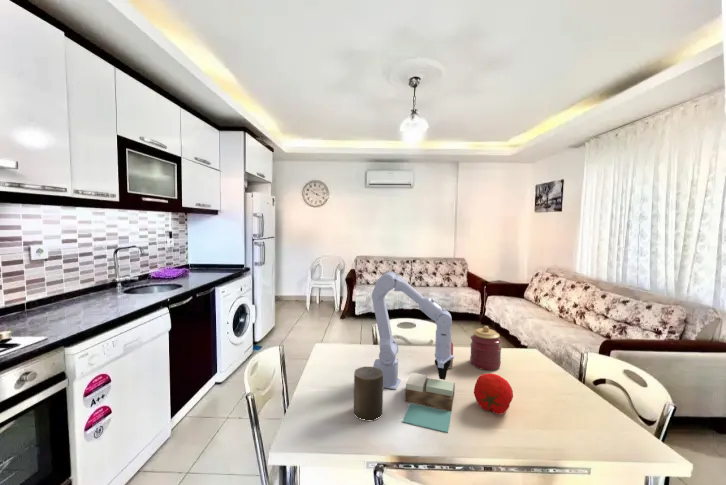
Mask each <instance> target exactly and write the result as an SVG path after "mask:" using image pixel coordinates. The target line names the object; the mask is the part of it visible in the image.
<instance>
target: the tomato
mask: <svg viewBox="0 0 726 485" xmlns="http://www.w3.org/2000/svg"><path fill="white" fill-rule="evenodd" d="M473 395H474V397H475V402H476V403H477V404H478V405H479V407H481V409H482V410H484V411H485V412H493V413H495V414H497V415H502V414H505V413H506V412H507V411H508V410H509V408H510V404H511V403H512V401H513V398H514V393H513V388H512V386H511V384H510V383H509V382H508V381H507V380H506V379H505V378H504V377H502V376H500V375H499V374H496V373H492V372H491V373H490V372H489V373H482V374H481V375H479V376H478V377H477V379H476V382H475V384H474V389H473Z"/></svg>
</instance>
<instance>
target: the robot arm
mask: <svg viewBox="0 0 726 485" xmlns="http://www.w3.org/2000/svg"><path fill="white" fill-rule="evenodd" d="M392 290H393V292H401V293H403V294H405V295H406V296H408V298H410V299H411V300H412V301H414V302H415V303H417V305H418V306H419V307H418V308H419V310H420V311H421V312H422V313H424V314H425V315H426V316H427V317H428V318H430V319H431V321H434V322H435V325H436V329H435V344H434V345H435V347H434V348H435V351H434V358H435V359H434V365H435V367H436V369H437V374H438V378H439V379H438V380H441V381H446V377H447V374H448V367H449V366H450V362H451V359H453V360H454V359H455V355H454V354H453V355H451V340H452V326H453V320H452V319H453V318H452V315H451V313H450V312H449V311H448V310H447V309H445V308H444V307H441V306H440V305H439V304H437V303H436V300H435V299H434V297H432V298H430V297H424V296H423V295H422V294H420V292H419V291H417V290H416V289H415V288H414V287H413V286H412V285H411V284H410V283H408V282H407V280H405V279H404V278H402V276H400V275H397V273H396V272H395V271H392V270H391V271H390V270H389V271H386V272H385V273H384V274H382V275H381V276H380V277H379V278H378V279H377V280H376V282H375V284H374V287H373V291H372V292H371V300H372V304H373V311H374V315H375V319H376V320H375V321H376V327H377V330H378V336H379V354H378V358H376V359H375V360H374V362H373V366H372V367H376V368H378V369H380V370H382V372H383V388H386V389H392V390H397V388H398V386H399V384H400V382H401V378H398V377H399V376H398V375H399V360H398V358H397V354H398V353H399V345H398V344H397V343H396V341H395V337H394V335H393V333H392V327H391V322H390V317H389V313H388V307H387V302H386V295H387V294H388V293H389V292H390V291H392Z"/></svg>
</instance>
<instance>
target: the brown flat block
mask: <svg viewBox="0 0 726 485" xmlns="http://www.w3.org/2000/svg"><path fill="white" fill-rule="evenodd" d="M428 379H429V378H428V377H427V381H426V384H425V387H424V390H423V392H419V391H414V390H408V389H406V388H405V389H404V390H405V391H404V402H407V403H412V404H416V405H421V406H426V407H431V408H435V409H440V410H445V411H449V412H452V410H453V405H454V397H455V387H456V386H455V384H456V383H455V382H453V383H454V390H453V396H447V395H441V394H436V393H431V392H426V385H427V382H428Z"/></svg>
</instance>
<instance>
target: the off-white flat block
mask: <svg viewBox="0 0 726 485" xmlns="http://www.w3.org/2000/svg"><path fill="white" fill-rule="evenodd" d="M427 378H428V375H427V374H421V373H416V372H410V375H409V377H408V379H407V381H406V383H405V390H406V389H408V390H414V391H419V392H423V390H424V387H425V384H426V381H427Z"/></svg>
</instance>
